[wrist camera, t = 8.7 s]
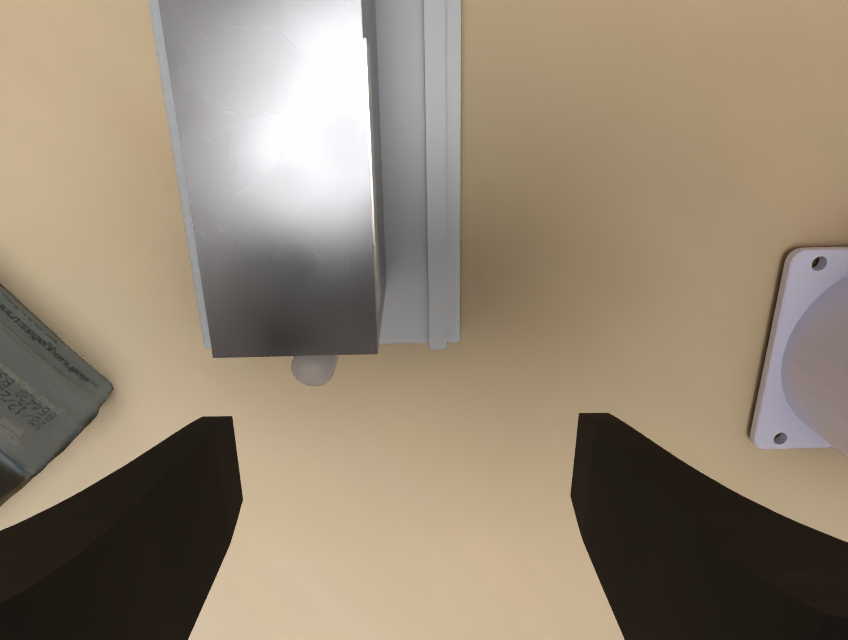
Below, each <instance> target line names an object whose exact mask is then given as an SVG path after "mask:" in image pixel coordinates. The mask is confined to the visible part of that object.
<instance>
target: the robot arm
mask: <svg viewBox="0 0 848 640" xmlns="http://www.w3.org/2000/svg"><path fill="white" fill-rule="evenodd" d="M817 257H819V260H820V261H819V263H818V264H817V265H816V266H815V267H813V268H812V262H813V260H814V259H815V258H817ZM778 433H781V434H780V436H779V437H778V438H776V439H774V437H775V436H776V435H777V434H778ZM750 440H751V441H752V443H753V444H754V445H755V446H756V447H758V448H759V449H797V448H831V447H834V448H836V449H837V450H838V451H839V452H841V453H842V454H843V455H844V456H846V457H847V458H848V246H846V247H804V248H797V249H795V250H793V251H792V252H790V254H789V255H788V256H787V258H786V260H785V263H784V268H783V273H782V278H781V283H780V288H779V293H778V298H777V303H776V308H775V313H774V318H773V323H772V328H771V333H770V338H769V343H768V348H767V353H766V358H765V363H764V368H763V373H762V377H761V382H760V387H759V392H758V397H757V402H756V407H755V412H754V417H753V422H752V427H751V432H750ZM571 499H572V503H573V507H574V511H575V515H576V519H577V522H578V526H579V529H580V533H581V536H582V539H583V542H584V544H585V547H586V549H587V552H588V554H589V556H590V559H591V561H592V564H593V566H594V568H595V571H596V573H597V576H598V578H599V580H600V583H601V585H602V587H603V590H604V592H605V594H606V597H607V599H608V601H609V604H610V606H611V608H612V611H613V613H614V615H615V618H616V620H617V622H618V625H619V627H620V629H621V632H622V634H623V636H624V639H625V640H848V542H845V541H842V540H840V539H837V538H835V537H832V536H830V535H827V534H825V533H822V532H820V531H818V530H815V529H813V528H810V527H808V526H805V525H803V524H800V523H798V522H796V521H794V520H791V519H789V518H787V517H785V516H782V515H780V514H778V513H776V512H774V511H772V510H770V509H768V508H766V507H764V506H762V505H760V504H758V503H756V502H753V501H751V500H749V499H747V498H745V497H743V496H741V495H740V494H738V493H736V492H734V491H732V490H730V489H728V488H727V487H725V486H723V485H721V484H720V483H718V482H716V481H715V480H713V479H711V478H709V477H708V476H706V475H704V474H703V473H701V472H699V471H698V470H696V469H694V468H693V467H691V466H689V465H688V464H686V463H685V462H683V461H681V460H680V459H678V458H677V457H675V456H674V455H672V454H671V453H669V452H668V451H666V450H665V449H663V448H662V447H660V446H659V445H657V444H656V443H654V442H653V441H651V440H650V439H648V438H647V437H645V436H644V435H642V434H641V433H639V432H638V431H636V430H635V429H633V428H632V427H630V426H629V425H627V424H626V423H624V422H623V421H621V420H620V419H618V418H616V417H615V416H613V415H611V414H609V413H579V419H578V429H577V438H576V448H575V458H574V467H573V477H572V487H571ZM242 501H243V496H242V489H241V481H240V473H239V465H238V458H237V450H236V442H235V434H234V427H233V419H232V416H220V417H201V418H199V419H197V420H195V421H194V422H192V423H190V424H189V425H187V426H185V427H184V428H182V429H181V430H179V431H177V432H176V433H174V434H173V435H171V436H170V437H168V438H167V439H165V440H164V441H162V442H161V443H159V444H158V445H156V446H154V447H153V448H151V449H150V450H148V451H147V452H145V453H144V454H142V455H141V456H139V457H137V458H136V459H134V460H133V461H131V462H130V463H128V464H127V465H125V466H123V467H122V468H120V469H118V470H116V471H115V472H113V473H111V474H110V475H108V476H106V477H105V478H103V479H101V480H100V481H98V482H96V483H95V484H93V485H91V486H90V487H88V488H86V489H84V490H83V491H81V492H79V493H77V494H76V495H74V496H72V497H70V498H68V499H66V500H64V501H62V502H61V503H59V504H57V505H55V506H53V507H51V508H49V509H47V510H45V511H43V512H40V513H38V514H36V515H34V516H32V517H30V518H28V519H26V520H24V521H22V522H20V523H17V524H15V525H13V526H11V527H8V528H6V529H3V530H1V531H0V640H188V638H189V636H190V634H191V631H192V629H193V627H194V625H195V622H196V620H197V618H198V616H199V613H200V611H201V609H202V607H203V604H204V602H205V600H206V598H207V596H208V593H209V591H210V589H211V587H212V584H213V582H214V580H215V578H216V575H217V573H218V571H219V568H220V566H221V564H222V562H223V559H224V557H225V555H226V552H227V550H228V548H229V545H230V543H231V539H232V536H233V533H234V530H235V526H236V523H237V519H238V515H239V512H240V508H241V504H242Z"/></svg>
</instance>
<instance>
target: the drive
mask: <svg viewBox="0 0 848 640" xmlns="http://www.w3.org/2000/svg"><path fill="white" fill-rule="evenodd" d="M158 3H159V10H160V16H161V23H162V29H163V36H164V42H165V49H166V55H167V62H168V68H169V75H170V81H171V88H172V94H173V101H174V107H175V114H176V120H177V127H178V133H179V140H180V146H181V153H182V159H183V166H184V172H185V179H186V185H187V192H188V198H189V205H190V211H191V218H192V224H193V231H194V237H195V244H196V250H197V257H198V263H199V270H200V276H201V283H202V289H203V296H204V302H205V309H206V315H207V322H208V328H209V335H210V341H211V348H212V354H213V358H228V357H270V356H312V355H353V354H378V347H379V339H380V331H381V323H382V315H383V307H384V299H385V291H386V260H385V235H384V210H383V184H382V159H381V134H380V108H379V83H378V58H377V32H376V7H375V0H158Z"/></svg>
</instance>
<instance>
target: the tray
mask: <svg viewBox="0 0 848 640" xmlns="http://www.w3.org/2000/svg"><path fill="white" fill-rule="evenodd" d="M149 6H150V12H151V18H152V25H153V31H154V37H155V43H156V49H157V56H158V62H159V68H160V74H161V80H162V87H163V93H164V99H165V105H166V111H167V118H168V124H169V130H170V136H171V142H172V149H173V155H174V161H175V167H176V173H177V180H178V186H179V192H180V198H181V204H182V211H183V217H184V223H185V229H186V235H187V242H188V248H189V254H190V260H191V266H192V273H193V279H194V285H195V291H196V297H197V304H198V310H199V316H200V322H201V328H202V335H203V341H204V347H205V349H212V348H211V341H210V335H209V328H208V322H207V315H206V309H205V302H204V296H203V289H202V283H201V276H200V270H199V263H198V257H197V250H196V244H195V237H194V231H193V224H192V218H191V211H190V205H189V198H188V192H187V185H186V179H185V172H184V166H183V159H182V153H181V146H180V140H179V133H178V127H177V120H176V114H175V107H174V101H173V94H172V88H171V81H170V75H169V68H168V62H167V55H166V49H165V42H164V36H163V29H162V23H161V16H160V10H159V3H158V0H149ZM375 7H376V32H377V58H378V83H379V108H380V134H381V159H382V184H383V210H384V235H385V260H386V291H385V299H384V307H383V315H382V323H381V331H380V339H379V344H402V343H429V349H447V342H460V128H461V0H375ZM337 359H338V355H312V356H294V358H293V361H292V371H293V374H294V376H295V377H296V379H297V380H298V381H300V382H301V383H303V384H305V385H308V386H320V385H323V384H325V383H327V382H328V381H329V380H330V379H331V377H332V376H333V373H334V369H335V366H336V362H337Z"/></svg>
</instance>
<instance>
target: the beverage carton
mask: <svg viewBox="0 0 848 640" xmlns="http://www.w3.org/2000/svg"><path fill="white" fill-rule="evenodd" d="M112 389H113V386H112V385H111V383H110V382H109V381H108V380H107V379H106V378H104V377H103V376H102V375H101V374H99V373H98V372H97V371H96V370H94V369H93V368H92V367H91V366H90V365H89V364H87V363H86V362H85V361H84V360H83V359H82V358H81V357H80V356H78V355H77V354H76V353H75V352H74V351H72V350H71V349H70V348H69V347H68V346H67V345H66V344H64V343H63V342H62V341H61V340H60V339H59V338H58V337H57V336H55V335H54V334H53V333H52V332H51V331H50V330H49V329H48V328H47V327H46V326H45V325H44V324H43V323H41V322H40V321H39V320H38V319H37V318H36V317H35V316H34V315H33V314H32V313H31V312H29V311H28V310H27V309H26V308H25V307H24V306H23V305H22V304H21V303H20V302H18V301H17V300H16V299H15V298H14V297H13V296H12V295H11V294H10V293H9V292H7V291H6V290H5V289H4V288H3V287H2V286H1V285H0V507H1V506H2V504H3V503H5V502H6V501H7V500H8V499H9V498H10V497H12V496H13V495H14V494H15V493H17V492H18V491H19V490H21V489H22V488H23V487H24V486H25V485H26V484H27V483H28V482H29V481H30V480H31V479H32V478H33V477H34V476H36V475H37V474H39V473H40V472H41V471H42V470H43V469H44V468H45V467H46V466H47V464H48V463H49V462H51V461H52V460H53V459H54V458H55V457H57V456H58V455H59V454H60V453H61V452H63V451H64V450H65V449H66V448H67V446H68V445H69V444H70V443H71V442H72V441H73V440H74V439H75V438H76V437H77V436H78V435H79V434H80V433H81V432H82V431H83V430H84V428H85V427H86V426H88V425H89V424H90V423H91V422H92V420H93V419H94V418H95V417H96V416H97V414H98V411H99V408H100V407H101V405H102V404H103V403H104V402H105V400H106V399H107V397H108V396H109V394H110V393H111V391H112Z"/></svg>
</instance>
